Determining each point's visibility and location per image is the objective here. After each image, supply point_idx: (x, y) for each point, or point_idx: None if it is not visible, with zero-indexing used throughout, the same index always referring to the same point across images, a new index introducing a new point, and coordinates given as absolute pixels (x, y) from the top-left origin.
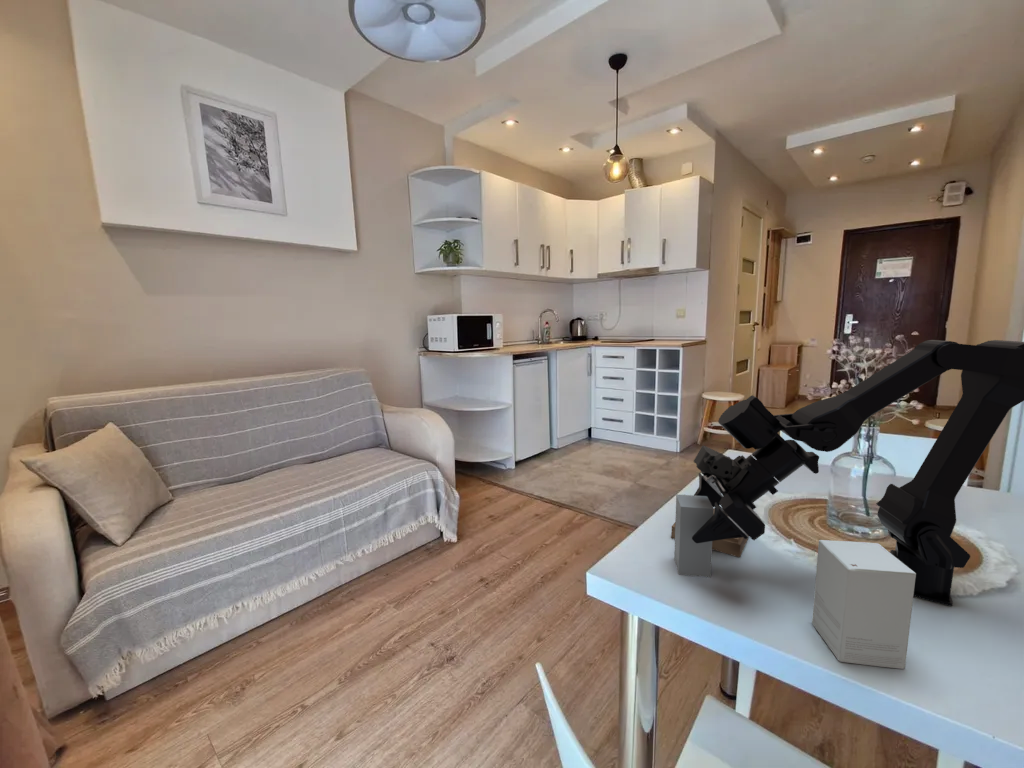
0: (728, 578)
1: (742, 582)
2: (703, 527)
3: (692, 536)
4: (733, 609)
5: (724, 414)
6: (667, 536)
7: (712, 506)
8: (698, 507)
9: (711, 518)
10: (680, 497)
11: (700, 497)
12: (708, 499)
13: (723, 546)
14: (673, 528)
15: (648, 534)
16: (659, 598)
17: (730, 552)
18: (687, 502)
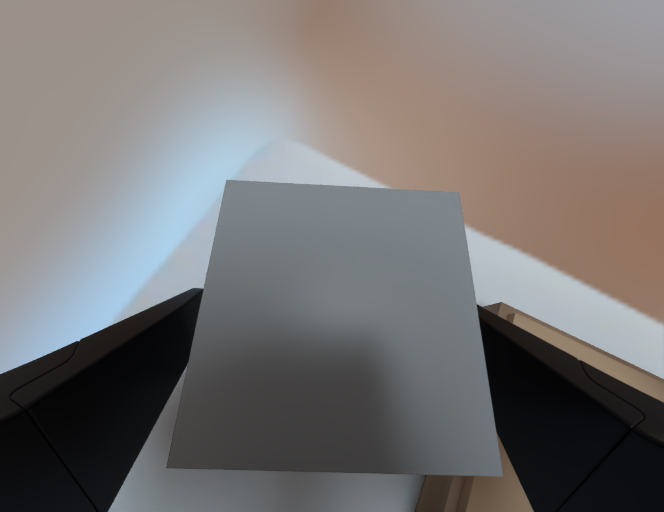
0: None
1: (263, 476)
2: (120, 328)
3: (199, 289)
4: None
5: None
6: (483, 299)
7: (226, 468)
8: (207, 310)
9: (30, 388)
10: (404, 210)
11: (449, 387)
12: (414, 470)
13: None
14: (496, 308)
15: (477, 249)
16: (192, 235)
17: (426, 491)
18: (312, 242)
